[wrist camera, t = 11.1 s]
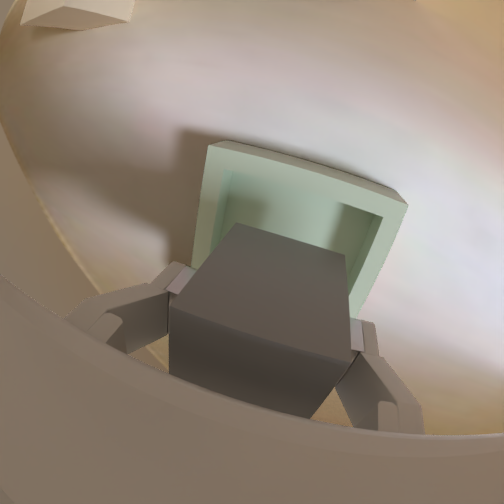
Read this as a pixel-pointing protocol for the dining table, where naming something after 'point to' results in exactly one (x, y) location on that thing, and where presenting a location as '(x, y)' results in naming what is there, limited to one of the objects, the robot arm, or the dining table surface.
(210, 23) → the dining table surface
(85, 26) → the beige part
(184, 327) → the grey part
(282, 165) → the tray
